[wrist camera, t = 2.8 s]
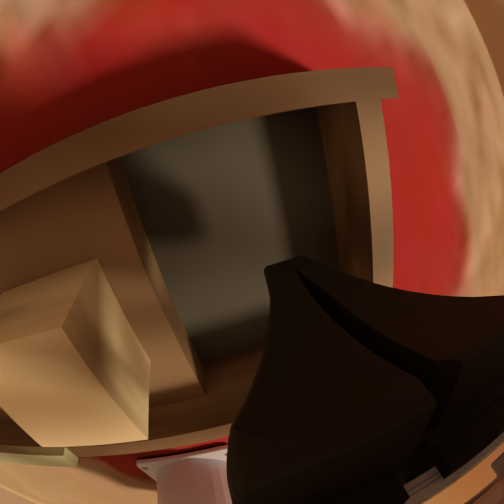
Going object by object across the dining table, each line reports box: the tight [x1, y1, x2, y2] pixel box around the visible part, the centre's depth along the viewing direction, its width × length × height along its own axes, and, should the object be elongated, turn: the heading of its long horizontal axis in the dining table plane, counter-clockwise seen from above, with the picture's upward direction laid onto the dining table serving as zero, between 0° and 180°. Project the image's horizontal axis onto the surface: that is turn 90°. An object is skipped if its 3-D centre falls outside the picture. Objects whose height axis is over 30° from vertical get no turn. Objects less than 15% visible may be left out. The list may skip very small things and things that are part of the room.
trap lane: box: [0, 67, 398, 467], centre depth 10 cm, size 13×34×5 cm, turn 103°
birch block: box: [0, 258, 151, 447], centre depth 9 cm, size 5×5×4 cm
